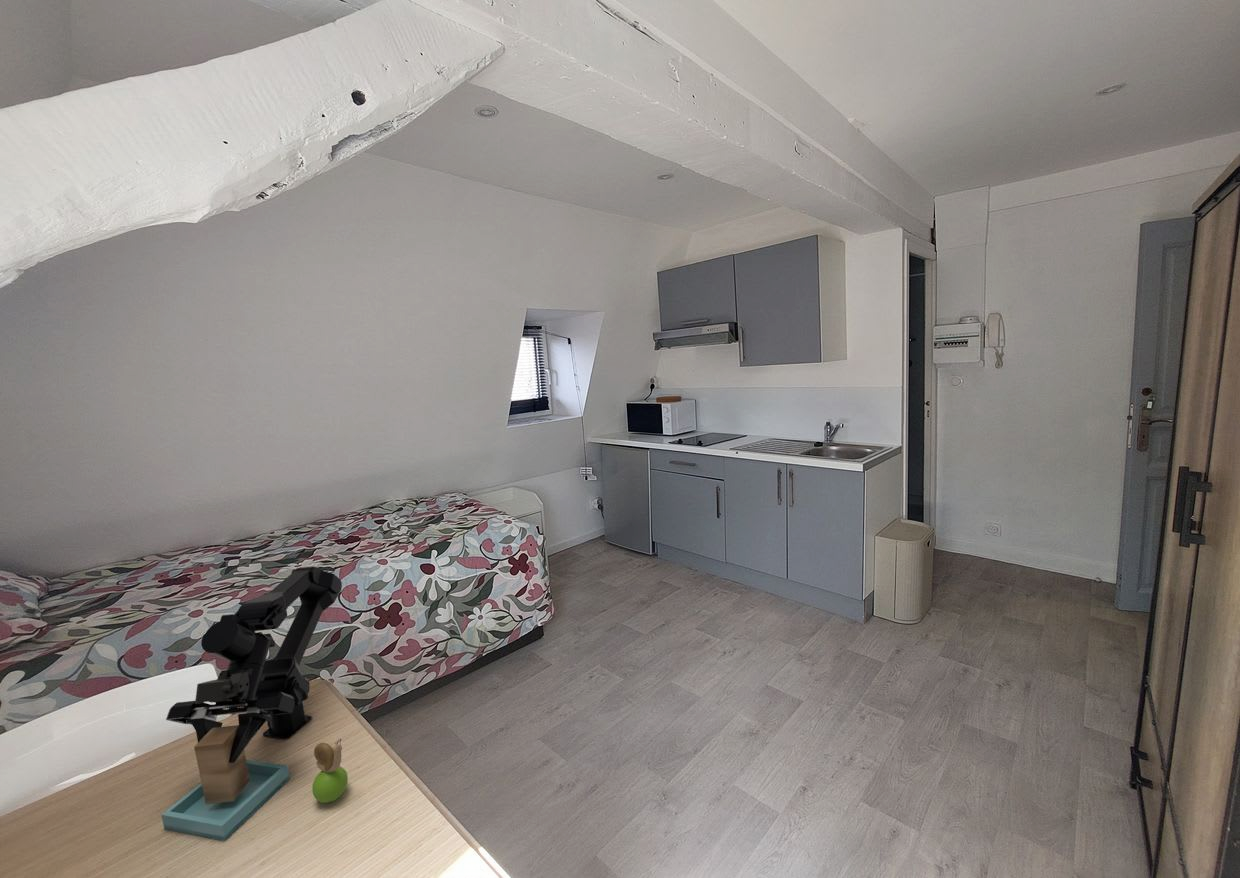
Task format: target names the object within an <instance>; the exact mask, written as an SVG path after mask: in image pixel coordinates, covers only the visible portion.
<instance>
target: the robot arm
mask: <svg viewBox="0 0 1240 878" xmlns="http://www.w3.org/2000/svg"><path fill="white" fill-rule="evenodd" d="M342 584H343V583H342V580H341V578H339V577H338V576H337V575H336V574H334V573H333V572H329V571H325V570H322V569H321V568H319V566H304V567H303V566H301V567H296V568H294V569H293V570H292V571H291V573H290V574H289V575H288V576H287V577H286V578H285V579H283V580H282V581H281V582H280V583H278V584H277V585H276V586H275V587H274V588H272V589H271V590H270V591H269V592H268V593H266V594H264V595H259V596H257V597H253V598H252V599H249V600H247V601H245V602H244V603H242V604H241V605H240V606H239V608H238V609H237V611H235V613H231V614H222V615H221V617H220V620H219V621H218V622H216V623H214V624H213V625H211V626H210V627H209V628H208V629H207V630H206V631H205V633H204V634H203V635H202V637H201V648H202V649H203V651H205V652H206V653H208V654H210V655H213V656H215V657H218V658H220V659H222V660H224V661H228V663H227V667H226V670H221V671H220V673H219V674H218V677H217V679H212V680H208V681H204V682H201V683H200V682H199V683H197V684H196V692H195V693H196V694H195V699H194V700H189V701H187V700H186V701H180V702H179V701H178V702H176V703H175V704H173V705H172V706H171V707H170V708H169V710H168V712H167V715H166V719H165V721H170V722H173V723H178V724H183V725H192V727H193V728H194V730H195V733H196V739H197V743H198V742H199V741H200V740H201V739H202V738H203V737H204V736H205V735H206V734H207V733H208V732H209V731H210V730H211V729H212V728H216V727H223V722H220V721H217V719H218V718H217V717H218V716H225V715H233V714H237V719H238V725H239V727H238V730H237V733H236V737H235V740H234V743H233V746H232V749H231V754H230V759H229V762H230V763H234V762H235V761H236V759H237V758H238V757H239V755H240V754H241V753H242V751H243V750H244V751H245V749H246V747H247V746H248V744H249V743H250V741H251V740H252V739H253V738H254V736H255V735H256V734H257V733H258V731H260V729H261V728H262V727H263V725H265V723H267V729H266V730H265V731H264V732H263V733H262V736H263V737H268V738H275V739H283V740H288V739H290V738H291V737H293V736H294V735H295V734H296V733H297V732H298V731H299V730H300V729H301V728H303V727H304V726H305V725H306V724H307V723H309V722H310V721H312V715H307V714H305V709H304V708H305V707H304V703H303V702H304V701H306V700H308V699H309V693H310V688H311V686H310V685H311V684H310V681H309V680H308V679H304V678H303V674H302V672H301V667H300V664H301V662H302V659H303V657H304V655H305V653H306V650H307V648H308V645H309V644H310V641H311V639H312V636H313V635H314V632H315V630H316V627H317V625H318V623H319V621H320V618H321V616H322V614H323V612H324V611H325V610H327V609H328V608H329V607H331V606H332V605H333V604H334V603H335V602H336V600H337V598H338V596H339V594H340V593H341V592H342V587H343V585H342ZM297 599H299V600H300V606H299V609H298V610H297V612H296V614H295V616H294V619H293V621H292V623H291V625H290V627H289V629H288V630H287V633H286V635H285V637H284V639H283V641H282V644H281V645H280V647H279V649H278V651H277V654H276V655H275V657H274V658H273V659H267V656H268V653H269V649H270V648H275V646H276V642H275V640H274V639H273V637H272V634H271V633H260V631H268V630H276V629H278V628H279V627H280V626H281V625H282V624H283V622H284V621H285V619H286V618H287V616H288V610H287V609H288V608H289V607H290V606H291V605H292V604H293V603H294V602H295V601H297ZM207 702H208V703H207ZM211 703H212V704H211ZM214 703H215V704H214Z"/></svg>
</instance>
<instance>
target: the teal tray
mask: <svg viewBox="0 0 1240 878" xmlns="http://www.w3.org/2000/svg"><path fill="white" fill-rule="evenodd" d="M246 762H247V767H248V772H249V778H250V780H249V782H248V783H247V784H246V786H245V787H244V788H243V790H242V791H241V792H240V794H239V795H238V796H237V797H236V799H235V800H234V801H230V802H221V803H213V804H206V802H205V797H204V792H203V788H202V783H201V782H200V783H199V784H197V785H196V786H195V787H194V788H193V789H192V790H190V791H189V792H188V793H186V794H184V796H183V797H181V798H180V799H179V800H177V802H174V804H173V805H171V806H170V807H169V808H167V810H165V811H164V812H163V813H161V821H162V825H163V829H164V830H167V831H170V832H171V831H172V832H176V833H181V834H186V835H191V836H196V837H201V838H206V839H207V838H208V839H212V840H218V841H221V842H222V841H223V842H226V841H227V840H228V839H229V838H230V837H231V836H232V835H233V834H234V833H235V832H236V831H237V830H239V828H241V826H243V825H244V824H245V823H246V821H248V820H249V819H250V818H251V817H252V816H253V815H254V814H255V813H257V811H258V810H260V809H261V807H263V806H264V805H265V804H266V803H268V801H269V800H270V799H271V798H272V797H273V796H274V795H275V794H276V793H277V792H278V791H279V790H280V789H281V788H283V786H285V785H286V784H287V783H288V781H290V780H291V777H290V770H289V765H287V764H281V763H279V764H278V763H273V762H267V761H266V762H265V761H261V760H260V761H259V760H254V759H247V758H246Z"/></svg>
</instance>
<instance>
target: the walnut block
mask: <svg viewBox="0 0 1240 878" xmlns="http://www.w3.org/2000/svg"><path fill="white" fill-rule="evenodd" d="M238 727H239V724H236V725H227V726H221V727H216V728H212V729H211V730H210V731H209V732H208V733H207V734H206V735H205V736H204V737H203V738H202V739H201V740H200V741H199V742H198V741H197V743H196V744H195V746H194V747H193V748H194V752H195V758H196V762H197V763H196V764H197V768H198V772H199V778H200V781H201V782H200V783H202V788H203V792H204V797H205V802H206V804H213V803H221V802H230V801H234V800H235V799H236V797H237V796H238V795H239V794H240V792H241V791H242V790H243V788H244V787H245V786H246V784H247V783H248V782H249V780H250V778H249V772H248V767H247V762H246V759H247V758H246V757H247V756H246V751H245V749H244V750H243V751H242V753H241V754H240V755H239V757H238V758H237V759H236V761H235V762H234V763H230V762H229V759H230V754H231V749H232V746H233V743H234V740H235V737H236V733H237V730H238Z"/></svg>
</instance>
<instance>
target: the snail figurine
mask: <svg viewBox="0 0 1240 878" xmlns="http://www.w3.org/2000/svg"><path fill="white" fill-rule="evenodd" d="M341 741H342V738H341V737H339V738H338V739H337V740H336V741H335V742H334V746H333V747H332V746H331V745H330V744H328V743H327V742H320V743H318V744H317V745H315V748H314V749H313V755H314V758H315V759H316V762H315V765H316V766H317V768H318V769H319V770H320V772H318V774H317V775H316V776H315V778H314V780H313V782H312V787H311V792H312V796H313V797H314V799H315V801H316V800H317V802H319V803H323V804H326V803H327V804H329V803H331V802H334V801H335V800H337V799H339V797H341V796H342V795H343V794H344V792H345V791H346V788H347V785H348V781H349V777H348V772H347V771H346V769H345V768H344V767H342V766H341V762H342V751H343V750H342V749H343V746H342V744H341V743H342V742H341Z"/></svg>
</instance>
